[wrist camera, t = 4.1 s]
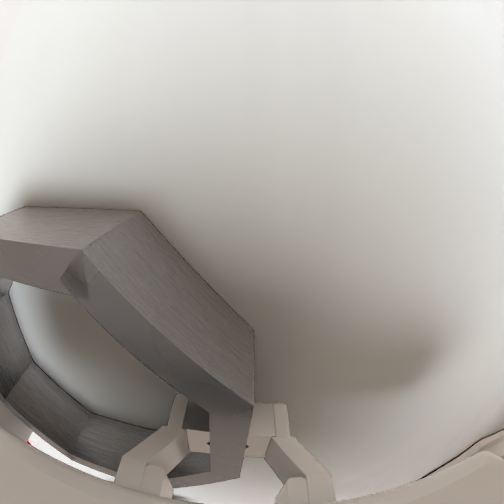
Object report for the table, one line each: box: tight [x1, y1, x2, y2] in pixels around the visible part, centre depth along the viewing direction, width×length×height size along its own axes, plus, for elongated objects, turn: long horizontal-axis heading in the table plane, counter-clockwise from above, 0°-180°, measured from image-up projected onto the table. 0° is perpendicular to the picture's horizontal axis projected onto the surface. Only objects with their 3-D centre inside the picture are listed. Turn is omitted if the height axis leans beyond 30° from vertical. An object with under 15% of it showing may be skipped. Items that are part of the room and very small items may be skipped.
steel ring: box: [0, 207, 254, 488], centre depth 9 cm, size 14×14×4 cm
